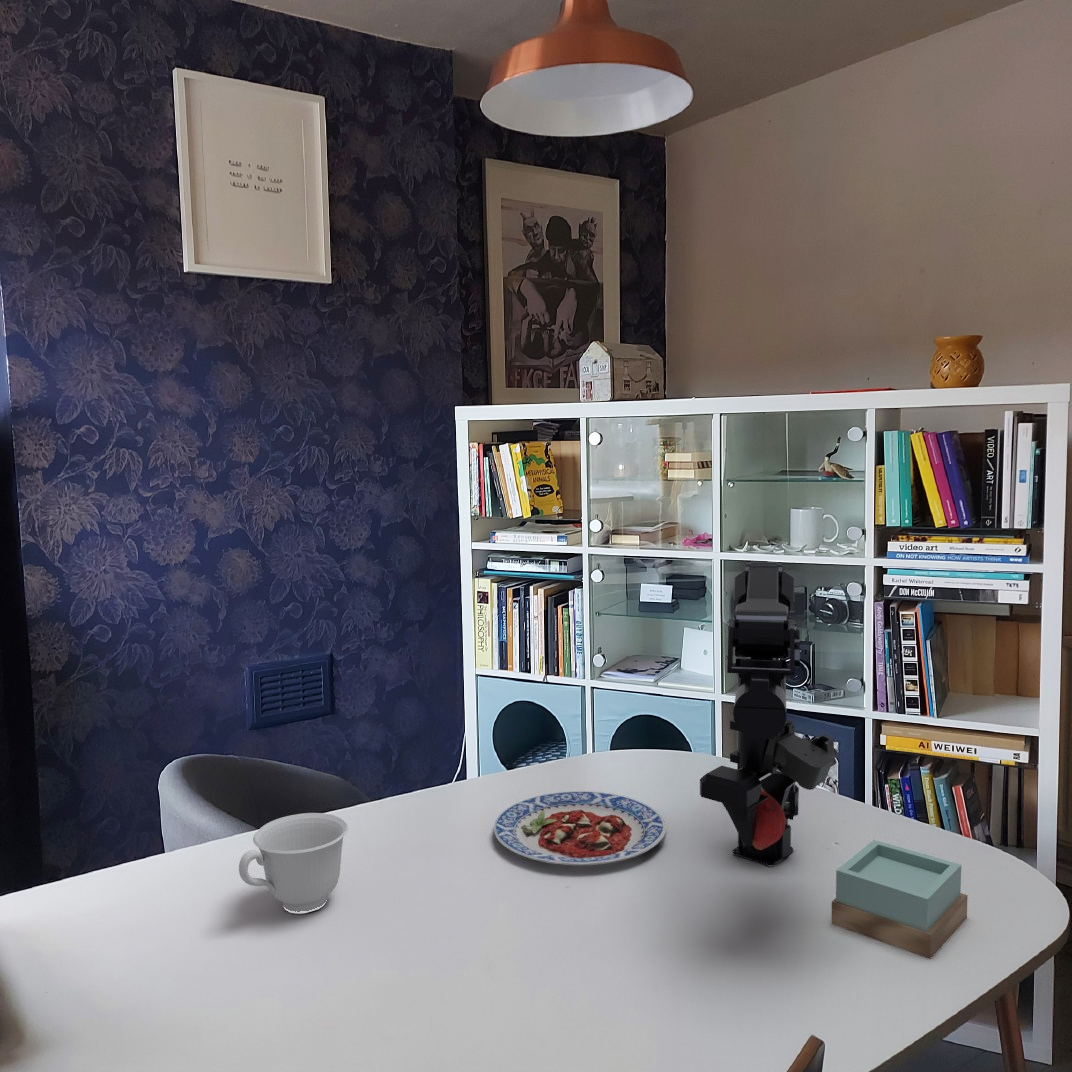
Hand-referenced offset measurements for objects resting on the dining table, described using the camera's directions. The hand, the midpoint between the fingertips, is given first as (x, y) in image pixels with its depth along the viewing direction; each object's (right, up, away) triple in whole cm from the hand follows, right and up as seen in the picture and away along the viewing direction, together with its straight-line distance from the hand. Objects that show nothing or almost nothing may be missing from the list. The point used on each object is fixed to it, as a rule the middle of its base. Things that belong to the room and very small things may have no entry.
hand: (760, 836), depth 117 cm
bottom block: (+17, -11, +1) cm, 21 cm away
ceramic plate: (-21, -9, +27) cm, 35 cm away
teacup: (-59, -12, +8) cm, 60 cm away
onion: (0, -2, 0) cm, 2 cm away
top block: (+17, -8, 0) cm, 19 cm away
